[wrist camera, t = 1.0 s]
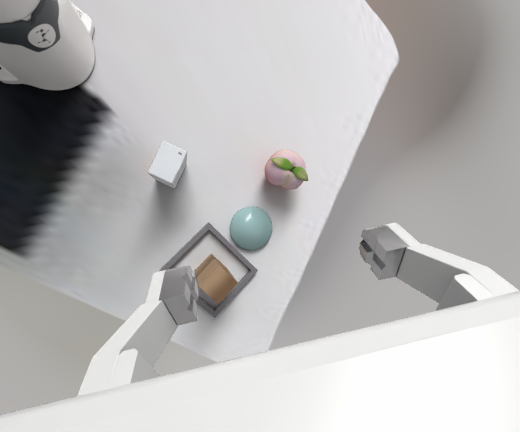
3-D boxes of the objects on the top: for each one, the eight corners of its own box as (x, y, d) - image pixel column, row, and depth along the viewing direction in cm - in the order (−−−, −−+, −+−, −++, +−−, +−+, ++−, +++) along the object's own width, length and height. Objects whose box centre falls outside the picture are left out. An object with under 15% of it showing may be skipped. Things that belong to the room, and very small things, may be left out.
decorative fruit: (297, 162, 58) (320, 154, 49) (289, 194, 58) (310, 191, 49) (263, 149, 55) (280, 137, 46) (254, 182, 55) (269, 177, 46)
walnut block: (194, 270, 51) (198, 286, 41) (211, 253, 52) (218, 265, 42) (211, 284, 53) (218, 304, 42) (226, 268, 54) (237, 282, 43)
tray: (160, 269, 49) (159, 271, 48) (208, 222, 52) (208, 222, 51) (214, 315, 53) (214, 317, 52) (256, 269, 56) (257, 270, 55)
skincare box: (167, 154, 49) (162, 138, 37) (186, 163, 50) (188, 151, 39) (154, 180, 48) (146, 172, 37) (174, 189, 49) (172, 184, 38)
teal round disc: (221, 228, 53) (221, 228, 52) (251, 197, 55) (252, 197, 54) (250, 257, 55) (251, 258, 54) (278, 227, 57) (280, 227, 56)
